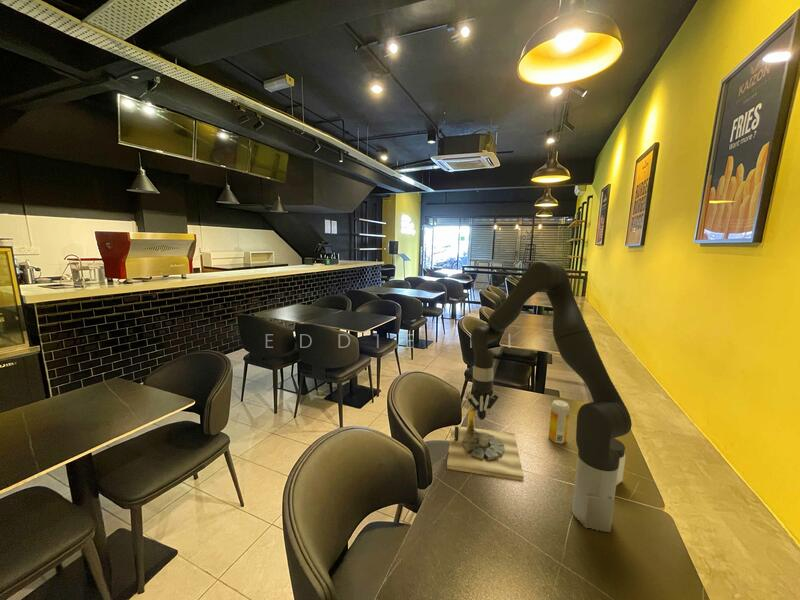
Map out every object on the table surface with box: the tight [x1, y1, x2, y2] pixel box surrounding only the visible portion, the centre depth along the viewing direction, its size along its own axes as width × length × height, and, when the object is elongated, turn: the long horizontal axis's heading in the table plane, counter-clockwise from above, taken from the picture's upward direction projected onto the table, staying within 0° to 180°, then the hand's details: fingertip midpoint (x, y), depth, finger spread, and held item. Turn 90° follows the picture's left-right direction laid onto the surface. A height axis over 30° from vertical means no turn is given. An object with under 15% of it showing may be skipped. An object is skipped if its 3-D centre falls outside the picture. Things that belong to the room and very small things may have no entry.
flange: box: [463, 407, 505, 460], centre depth 115 cm, size 18×14×9 cm
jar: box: [610, 438, 627, 486], centre depth 101 cm, size 9×8×12 cm
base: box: [446, 425, 525, 482], centre depth 113 cm, size 24×24×6 cm
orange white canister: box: [548, 399, 571, 445], centre depth 120 cm, size 6×6×15 cm
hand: (481, 418), depth 123 cm, fingers closed
